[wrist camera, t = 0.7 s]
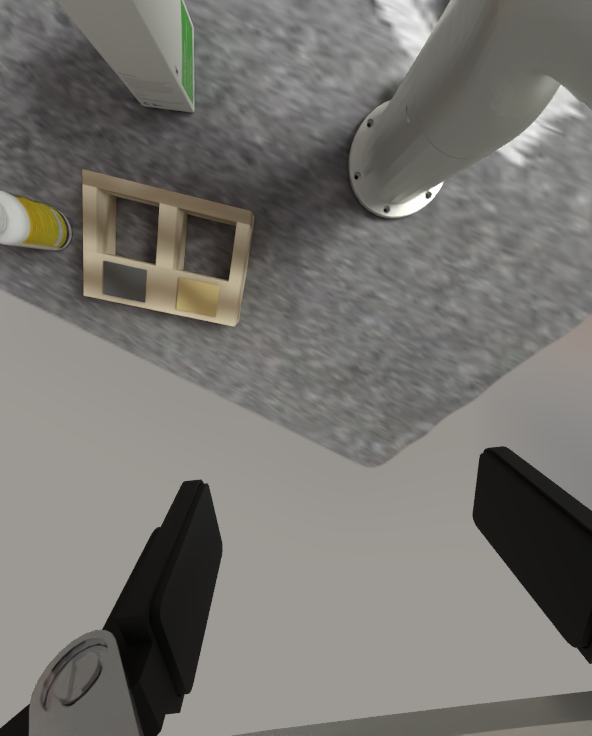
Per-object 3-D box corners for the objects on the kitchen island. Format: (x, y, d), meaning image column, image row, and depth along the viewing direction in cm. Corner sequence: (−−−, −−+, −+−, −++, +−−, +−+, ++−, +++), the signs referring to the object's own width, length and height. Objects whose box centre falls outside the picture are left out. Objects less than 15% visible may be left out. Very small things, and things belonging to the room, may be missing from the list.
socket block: (104, 180, 35) (80, 167, 31) (254, 217, 37) (251, 210, 33) (103, 293, 39) (82, 295, 35) (238, 321, 41) (233, 326, 37)
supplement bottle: (62, 200, 36) (-17, 173, 26) (80, 246, 37) (12, 236, 28) (21, 209, 36) (-72, 186, 26) (41, 254, 37) (-39, 247, 28)
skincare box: (195, 115, 33) (124, -13, 19) (138, 107, 33) (18, -31, 18) (194, 22, 31) (111, -213, 16) (132, 12, 30) (-12, -239, 16)
